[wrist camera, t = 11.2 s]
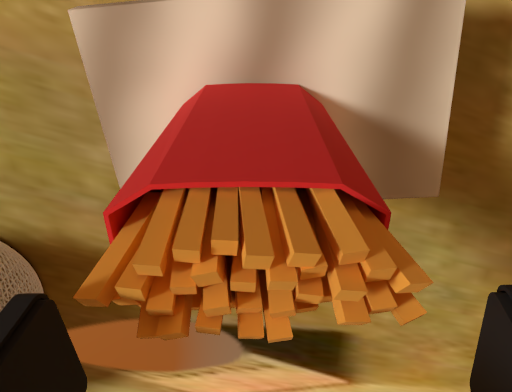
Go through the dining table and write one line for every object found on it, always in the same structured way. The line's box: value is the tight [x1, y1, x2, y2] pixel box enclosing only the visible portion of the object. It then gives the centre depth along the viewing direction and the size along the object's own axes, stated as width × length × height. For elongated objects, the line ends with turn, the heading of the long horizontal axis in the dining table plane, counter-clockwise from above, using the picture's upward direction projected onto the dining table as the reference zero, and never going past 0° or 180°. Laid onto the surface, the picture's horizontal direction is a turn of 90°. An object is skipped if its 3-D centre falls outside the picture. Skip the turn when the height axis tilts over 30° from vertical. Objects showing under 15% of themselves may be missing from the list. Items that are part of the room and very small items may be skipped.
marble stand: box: [68, 0, 466, 199], centre depth 23 cm, size 16×10×6 cm, turn 95°
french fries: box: [73, 83, 433, 343], centre depth 15 cm, size 8×4×12 cm, turn 90°
